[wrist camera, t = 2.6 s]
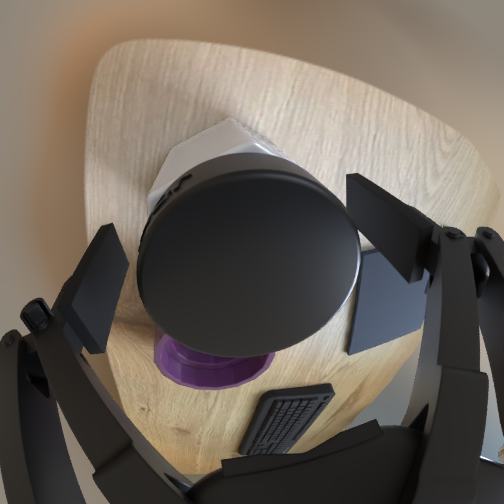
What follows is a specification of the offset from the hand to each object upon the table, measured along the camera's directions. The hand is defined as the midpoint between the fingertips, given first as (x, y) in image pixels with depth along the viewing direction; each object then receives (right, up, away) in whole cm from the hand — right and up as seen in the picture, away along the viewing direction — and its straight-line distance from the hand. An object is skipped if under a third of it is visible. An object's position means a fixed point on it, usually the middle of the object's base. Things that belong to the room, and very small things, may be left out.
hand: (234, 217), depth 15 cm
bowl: (-3, -8, +12) cm, 15 cm away
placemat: (+18, -7, +15) cm, 25 cm away
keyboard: (+5, -34, +30) cm, 45 cm away
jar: (-1, +3, +5) cm, 6 cm away
